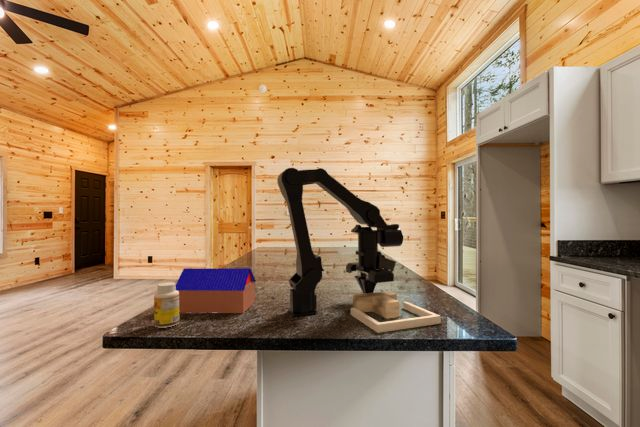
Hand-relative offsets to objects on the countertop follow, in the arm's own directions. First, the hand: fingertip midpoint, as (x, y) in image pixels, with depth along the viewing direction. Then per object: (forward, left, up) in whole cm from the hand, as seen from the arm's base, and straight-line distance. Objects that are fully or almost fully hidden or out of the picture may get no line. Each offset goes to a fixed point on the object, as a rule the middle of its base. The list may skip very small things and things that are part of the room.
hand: (368, 300), depth 94 cm
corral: (0, -13, -1) cm, 13 cm away
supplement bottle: (-54, +3, -2) cm, 54 cm away
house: (-42, +14, -2) cm, 45 cm away
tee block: (0, -7, -1) cm, 7 cm away
